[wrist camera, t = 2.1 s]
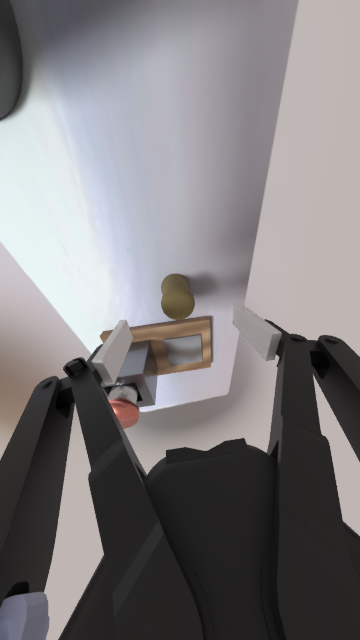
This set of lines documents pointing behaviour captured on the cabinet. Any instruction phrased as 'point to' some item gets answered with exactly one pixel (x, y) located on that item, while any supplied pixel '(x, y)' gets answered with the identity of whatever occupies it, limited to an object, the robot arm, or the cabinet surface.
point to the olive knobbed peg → (176, 297)
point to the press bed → (176, 343)
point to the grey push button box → (138, 372)
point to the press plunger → (125, 403)
